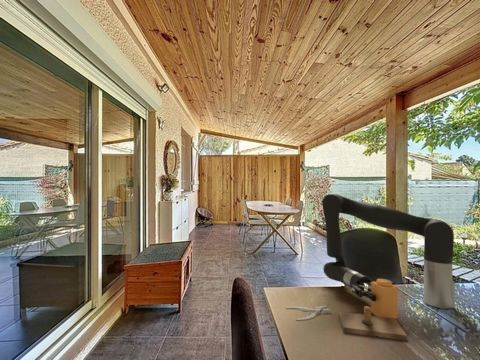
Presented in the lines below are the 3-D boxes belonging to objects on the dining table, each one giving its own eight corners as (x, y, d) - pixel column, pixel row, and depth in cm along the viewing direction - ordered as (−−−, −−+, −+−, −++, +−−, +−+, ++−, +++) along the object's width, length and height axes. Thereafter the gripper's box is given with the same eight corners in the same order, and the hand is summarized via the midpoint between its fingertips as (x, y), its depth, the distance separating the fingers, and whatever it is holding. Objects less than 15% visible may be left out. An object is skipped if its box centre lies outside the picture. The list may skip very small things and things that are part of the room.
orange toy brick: (384, 310, 101) (385, 277, 101) (397, 318, 95) (397, 283, 96) (370, 311, 100) (371, 278, 100) (382, 319, 94) (383, 284, 94)
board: (394, 322, 92) (394, 303, 92) (406, 340, 82) (407, 318, 82) (338, 315, 96) (339, 297, 96) (343, 332, 86) (343, 311, 86)
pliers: (285, 304, 102) (322, 301, 105) (285, 308, 102) (322, 306, 105) (296, 317, 92) (336, 313, 95) (296, 322, 92) (336, 318, 95)
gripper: (341, 273, 111) (368, 288, 95) (372, 272, 114) (402, 286, 98) (341, 292, 111) (368, 310, 95) (372, 289, 114) (402, 307, 98)
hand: (385, 297), depth 97 cm, fingers open, 8 cm apart
